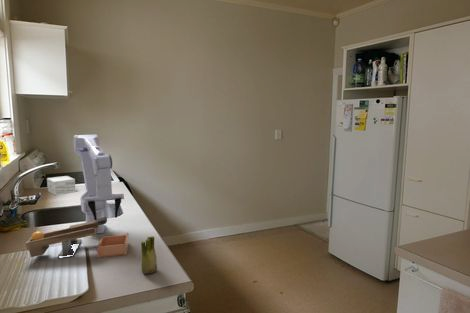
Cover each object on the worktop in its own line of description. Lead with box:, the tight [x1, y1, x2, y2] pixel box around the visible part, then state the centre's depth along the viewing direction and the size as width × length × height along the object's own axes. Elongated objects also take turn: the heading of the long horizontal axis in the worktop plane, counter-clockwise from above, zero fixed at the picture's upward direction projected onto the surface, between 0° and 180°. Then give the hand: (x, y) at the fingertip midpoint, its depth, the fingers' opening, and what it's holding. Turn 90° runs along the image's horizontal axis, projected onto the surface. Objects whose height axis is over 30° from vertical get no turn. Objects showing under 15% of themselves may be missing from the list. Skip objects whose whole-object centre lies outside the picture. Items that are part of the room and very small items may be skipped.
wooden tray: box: [24, 216, 108, 258], centre depth 123 cm, size 16×25×6 cm, turn 104°
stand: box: [57, 238, 83, 257], centre depth 124 cm, size 15×5×6 cm, turn 14°
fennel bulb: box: [140, 235, 158, 275], centre depth 106 cm, size 6×5×12 cm
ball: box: [30, 230, 44, 241], centre depth 116 cm, size 4×4×4 cm
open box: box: [96, 232, 130, 259], centre depth 124 cm, size 11×10×4 cm
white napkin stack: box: [46, 175, 76, 196], centre depth 217 cm, size 17×13×9 cm
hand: (106, 218), depth 129 cm, fingers open, 7 cm apart
